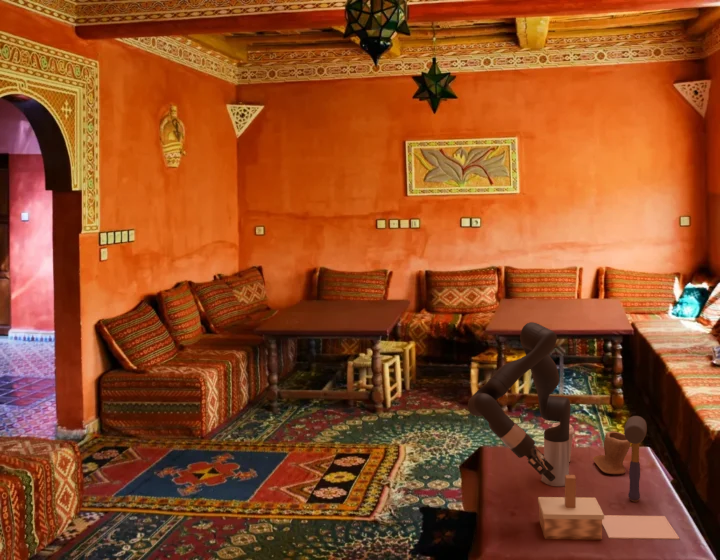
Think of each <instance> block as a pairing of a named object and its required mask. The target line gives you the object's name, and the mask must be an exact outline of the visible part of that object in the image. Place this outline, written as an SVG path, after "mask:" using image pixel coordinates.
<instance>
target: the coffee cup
mask: <svg viewBox="0 0 720 560" xmlns="http://www.w3.org/2000/svg"><path fill="white" fill-rule="evenodd" d="M558 425H560V422H555V423H552V425H551V427H550V428H552V427H556V426H558ZM574 433H575V429H574V427H573V425H572V424H570V423H569V462H570V463H571V457H572V456H571V455H572V445H573V437H574V436H573V435H574Z"/></svg>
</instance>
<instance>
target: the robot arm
mask: <svg viewBox="0 0 720 560" xmlns="http://www.w3.org/2000/svg"><path fill="white" fill-rule="evenodd" d="M557 336H558V335H557V334H556V333H555V331H553V330H552V329H550V328H547V327H545V326H543V325H541V324H539V323H537V322H533V321H531V322H527V323H526V324H524V326H523V327H522V328H521V331H520V335H519V338H520V339H519V340H520V344H521V346H522V349H523V352H524V354H525V355H524V356H522V357H520V358H517V359H516V360H512V361H510V362H507V363H505V364H504V365H502V366H500V367H499V368H498V369H497V370H496V371H495V373H494V374H493V375H492V376H491V377H490V378H489V379H488V381H487V382H486V383H485V384H484V385H482V387H480V388H479V389H478V390H477V391H475V393H474V394H473V395H471V397H470V398H469V400H468V402H467V409H468V412H469V413H470V414H471V415H472V416H475V417H483V418H484V419H485V420H486V422H488V426H489V427H488V428H490V430H491V431H492V432H493V433H494V434H495V435H496V436H497V437H498V438H499V439H500V440H501V441H502V443H503V444H504V445H505V446H506V447H507V448H508V449H509V450H511V452H512V453H513V454H515V455H516V457H518V458H520V459H521V458H524V457H526V458H527V463H528V464H529V465H530V466H531V467H533V469H534V470H535V471H536V472H537V473H538V474H539V475H540V476H541V483H544V484H546V485H548V486H552V487H565V475H570V474H569V473H570V471H569V469H570V465H569V464H570V463H569V424H570V421H571V420H570V418H571V401H570V399H569V398H568V397H565V396H554V395H553V396H552V395H551V394H552V393H553V392H554V391H555V390H556V388H558V385H559V383H560V373H559V369H558V366H557V364H556V363H555V361H554V360H553V358H552V357H551V356H550V354H551V352H552V351H553V349H554V348H555V346H556V343H557V339H558V337H557ZM528 371H531V376H532V381H533V383H534V386H535V389H536V390H535V391H536V394H537V399H538V400H537V401H538V406H539V407H538V408H539V413H540V416H541V418H542V419H543V420H545V421H550V422H556V423H560V425H558V426H556V427H552V426H551V427H552V428H551V427H548V428H546V429H545V430H544V432H543V453H542V451H540V450H539V449H538V448H537V447H536V446H535V445H536V444H535V443H536V442H535V440H534V439H533V438H532V437H531V436H530V435H529V434H528V433H527V432H526V431H525V430H524V429H523V428H522V427H521V426H520V425H518V424H517V423H516V422H515V421H513V420H512V418H510V417H509V416H508V415H507V413H505V412H504V410H503V408H502V407H501V405H500V404H499V403H498V401H497V400H499V399H501V398H502V397H504V395H506V394H507V392H508V391H510V389H511V388H512V387H513V386H514V384H515V383H517V381H518V380H519V379H520V378H521V377H522V376H524V375H525V374H526V373H527V372H528Z"/></svg>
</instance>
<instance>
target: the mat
mask: <svg viewBox="0 0 720 560" xmlns="http://www.w3.org/2000/svg"><path fill="white" fill-rule="evenodd" d="M602 528H603V529H604V531H605V533H606V536H607V538H608V539H618V540H619V539H623V540H624V539H625V540H627V539H628V540H680V537H679V535H678V534H677V533H676V531H675V529H674V528H673V527H672V525H671V524H670V522H669V520H668V519H667V517H666V516H665V515H616V514H615V515H614V514H613V515H610V514H608V515H605V514H604V520H602Z"/></svg>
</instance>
